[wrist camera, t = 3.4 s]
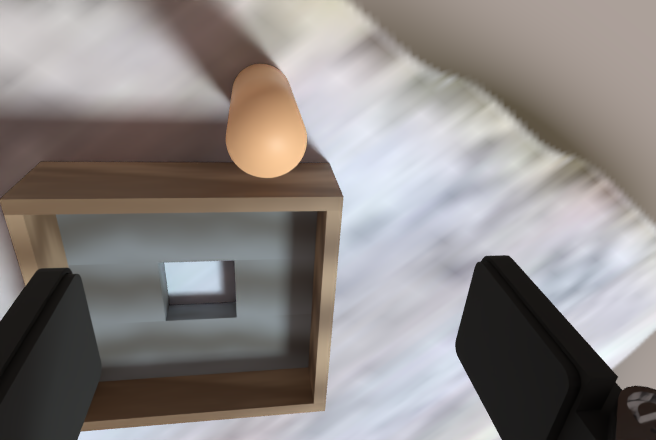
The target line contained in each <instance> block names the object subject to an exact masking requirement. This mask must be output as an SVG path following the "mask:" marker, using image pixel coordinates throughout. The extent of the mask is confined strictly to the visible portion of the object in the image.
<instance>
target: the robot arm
mask: <svg viewBox="0 0 656 440" xmlns="http://www.w3.org/2000/svg"><path fill="white" fill-rule="evenodd" d="M455 347H456V353H457V356H458V358H459V360H460V361H461V363H462V365H463V367H464V369H465V371H466V373H467V375H468V377H469V378H470V380H471V382H472V384H473V386H474V388H475V390H476V392H477V394H478V395H479V397H480V399H481V401H482V403H483V405H484V407H485V409H486V411H487V412H488V414H489V416H490V418H491V420H492V422H493V424H494V426H495V428H496V429H497V431H498V433H499V435H500V437H501V439H502V440H656V390H655V389H652V388H649V387H643V386H631V387H626V388H625V389H624V390H622V389H621V388H620V387H619V386H618V385H617V384H616V380H617V378H618V376H617V375H616V374H615V373H614V372H613V371H612V370H611V369H610V367H609V366H608V365H607V364H606V363H605V362H604V361H603V360H602V358H601V357H600V356H599V355H598V354H597V353H596V352H595V351H594V350H593V348H592V347H591V346H590V345H589V344H588V343H587V342H586V341H585V340H584V338H583V337H582V336H581V335H580V334H579V333H578V332H577V331H576V329H575V328H574V327H573V326H572V325H571V324H570V323H569V322H568V321H567V319H566V318H565V317H564V316H563V315H562V314H561V313H560V312H559V310H558V309H557V308H556V307H555V306H554V305H553V304H552V303H551V302H550V300H549V299H548V298H547V297H546V296H545V295H544V294H543V293H542V291H541V290H540V289H539V288H538V287H537V286H536V285H535V284H534V283H533V281H532V280H531V279H530V278H529V277H528V276H527V275H526V274H525V273H524V271H523V270H522V269H521V268H520V267H519V266H518V265H517V264H516V262H515V261H514V260H513V259H512V258H511V257H510V256H506V255H503V256H485V257H484V258H483V259H482V261H481V262H478V263H477V264H476V266H475V269H474V273H473V277H472V280H471V284H470V288H469V292H468V296H467V300H466V303H465V307H464V311H463V315H462V319H461V323H460V326H459V330H458V334H457V338H456V343H455ZM101 369H102V364H101V359H100V355H99V350H98V346H97V342H96V338H95V333H94V329H93V325H92V321H91V316H90V312H89V308H88V304H87V300H86V295H85V291H84V287H83V283H82V279H81V276H80V275H79V274H73V273H72V271H71V269H70V268H41V269H38V270H37V271H36V272H35V274H34V275H33V276H32V278H31V279H30V281H29V282H28V283H27V285H26V286H25V288H24V289H23V290H22V292H21V293H20V295H19V296H18V297H17V299H16V300H15V302H14V303H13V304H12V306H11V307H10V309H9V310H8V311H7V313H6V314H5V316H4V317H3V318H2V320H1V321H0V440H77V439H78V437H79V434H80V431H81V428H82V426H83V423H84V420H85V418H86V415H87V412H88V410H89V407H90V404H91V401H92V399H93V396H94V393H95V391H96V388H97V385H98V383H99V380H100V377H101Z"/></svg>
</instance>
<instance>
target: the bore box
mask: <svg viewBox="0 0 656 440" xmlns="http://www.w3.org/2000/svg"><path fill="white" fill-rule="evenodd" d="M0 204H1V207H2V211H3V214H4V217H5V220H6V224H7V227H8V230H9V234H10V237H11V240H12V243H13V247H14V250H15V253H16V256H17V260H18V263H19V266H20V270H21V273H22V276H23V279H24V283H25V286H26V285H27V283H28V282H29V281H30V279H31V278H32V276H33V275H34V274H35V272H36V271H37V270H38V269H41V268H70V269H71V271H72V273H73V274H79V275H80V276H81V279H82V283H83V287H84V291H85V295H86V300H87V304H88V308H89V312H90V316H91V321H92V325H93V329H94V333H95V338H96V342H97V346H98V350H99V355H100V359H101V364H102V369H101V377H100V380H99V383H98V385H97V388H96V391H95V393H94V396H93V399H92V401H91V404H90V407H89V410H88V412H87V415H86V418H85V420H84V423H83V426H82V428H81V431H92V430H104V429H115V428H127V427H139V426H151V425H163V424H175V423H186V422H198V421H210V420H222V419H234V418H246V417H257V416H269V415H281V414H293V413H305V412H317V411H325V404H326V393H327V381H328V369H329V358H330V346H331V335H332V323H333V311H334V300H335V288H336V277H337V265H338V253H339V242H340V230H341V219H342V207H343V195H342V192H341V190H340V188H339V185H338V183H337V180H336V178H335V176H334V173H333V171H332V168H331V166H330V164H329V163H298V165H297V166H296V167H295V168H293V169H292V170H291V171H289V172H288V173H286V174H284V175H281V176H278V177H273V178H261V177H256V176H253V175H250V174H248V173H246V172H244V171H243V170H241V169H240V168H239V167H238V166H237V165H236V164H235V163H234V162H40V163H39V164H38V165H37V166H36V167H34V168H33V169H32V170H31V171H30V172H29V173H28V174H27V175H26V176H25V177H23V178H22V179H21V180H20V181H19V182H18V183H17V184H16V185H15V186H14V187H12V188H11V189H10V190H9V191H8V192H7V193H6V194H5V195H4V196H3V197H1V198H0ZM230 260H234V263H235V288H236V302H231V303H209V304H186V305H169V298H168V290H167V282H166V274H165V266H164V262H196V261H230Z"/></svg>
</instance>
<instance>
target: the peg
mask: <svg viewBox="0 0 656 440" xmlns="http://www.w3.org/2000/svg"><path fill="white" fill-rule="evenodd" d="M226 146H227V150H228V153H229V155H230V157H231V159H232V160H233V161H234V163H235V164H236V165H237V166H238V167H239V168H240V169H241V170H243V171H244V172H246V173H248V174H250V175H253V176H256V177H261V178H273V177H278V176H281V175H284V174H286V173H288V172H289V171H291V170H292V169H293V168H295V167H296V166H297V165H298V163H299V162H300V161H301V159H302V157H303V156H304V153H305V150H306V146H307V134H306V129H305V126H304V123H303V120H302V118H301V115H300V112H299V109H298V107H297V104H296V101H295V98H294V96H293V93H292V90H291V87H290V85H289V82H288V80H287V78H286V77H285V75H284V74H283V73H282V72H281V71H280V70H278V69H277V68H275V67H273V66H271V65H268V64H254V65H250V66H248V67H246V68H245V69H243V70H242V71H241V72H240V73H239V74H238V75H237V77H236V79H235V81H234V84H233V88H232V95H231V102H230V109H229V116H228V123H227V131H226Z"/></svg>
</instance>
